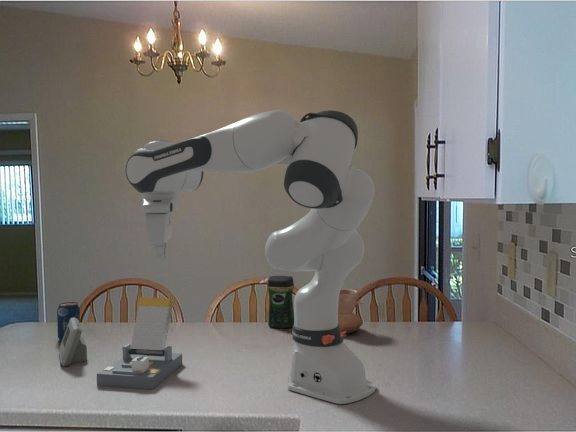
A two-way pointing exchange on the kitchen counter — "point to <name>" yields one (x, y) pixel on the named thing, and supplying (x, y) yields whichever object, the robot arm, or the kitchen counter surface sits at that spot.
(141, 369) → the slide switch
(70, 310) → the soda can
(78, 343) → the digital clock
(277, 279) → the coffee jar
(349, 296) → the ceramic jug
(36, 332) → the kitchen counter surface
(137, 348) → the lever
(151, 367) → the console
